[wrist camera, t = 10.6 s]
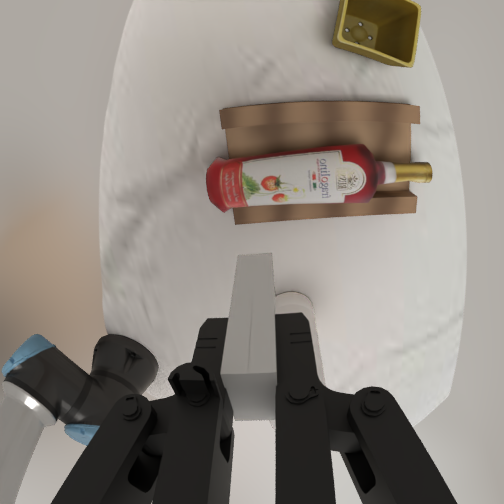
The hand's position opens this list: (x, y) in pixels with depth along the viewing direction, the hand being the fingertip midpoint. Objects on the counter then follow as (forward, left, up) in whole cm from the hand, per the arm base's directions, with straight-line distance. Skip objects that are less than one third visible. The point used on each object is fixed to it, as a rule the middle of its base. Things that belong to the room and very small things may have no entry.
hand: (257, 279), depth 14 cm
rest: (+8, 0, -27) cm, 28 cm away
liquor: (-7, -2, -23) cm, 24 cm away
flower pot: (+14, +17, -27) cm, 35 cm away
